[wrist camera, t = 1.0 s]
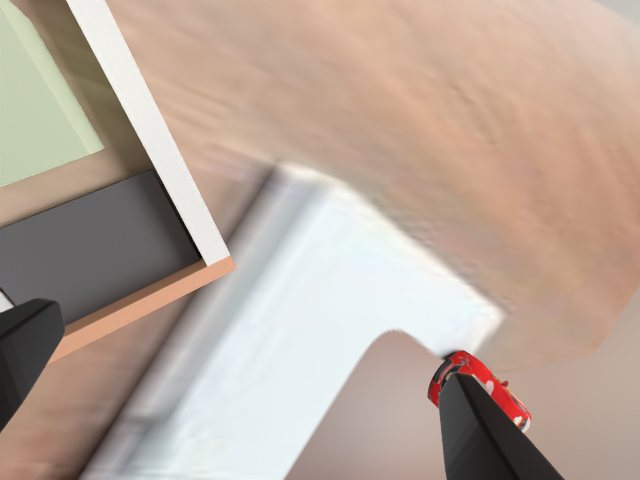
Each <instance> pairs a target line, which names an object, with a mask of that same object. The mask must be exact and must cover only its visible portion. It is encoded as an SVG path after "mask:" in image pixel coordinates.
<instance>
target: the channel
mask: <svg viewBox="0 0 640 480" xmlns="http://www.w3.org/2000/svg"><path fill="white" fill-rule="evenodd" d="M66 1H67V3H68V5H69V7H70V9H71V11H72V12H73V14H74V16H75V18H76V20H77V22H78V24H79V26H80V27H81V29H82V31H83V33H84V35H85V37H86V39H87V41H88V42H89V44H90V46H91V48H92V50H93V52H94V54H95V56H96V58H97V59H98V61H99V63H100V65H101V67H102V69H103V71H104V73H105V74H106V76H107V78H108V80H109V82H110V84H111V86H112V88H113V89H114V91H115V93H116V95H117V97H118V99H119V101H120V103H121V105H122V106H123V108H124V110H125V112H126V114H127V116H128V118H129V120H130V121H131V123H132V125H133V127H134V129H135V131H136V133H137V135H138V136H139V138H140V140H141V142H142V144H143V146H144V148H145V150H146V152H147V153H148V155H149V157H150V159H151V161H152V163H153V165H154V167H155V168H156V170H157V172H158V174H159V176H160V178H161V180H162V182H163V183H164V185H165V187H166V189H167V191H168V193H169V195H170V197H171V199H172V200H173V202H174V204H175V206H176V208H177V210H178V212H179V214H180V215H181V217H182V219H183V221H184V223H185V225H186V227H187V229H188V230H189V232H190V234H191V236H192V238H193V240H194V242H195V244H196V246H197V247H198V249H199V251H200V253H201V255H202V257H203V259H204V261H205V262H206V264H207V266H210V265H212V264H214V263H216V262H218V261H220V260H222V259H224V258H226V257H228V256H230V254H229V252H228V250H227V248H226V246H225V243H224V241H223V239H222V237H221V235H220V233H219V231H218V229H217V227H216V225H215V223H214V221H213V219H212V217H211V215H210V213H209V211H208V209H207V207H206V205H205V203H204V201H203V199H202V197H201V195H200V193H199V191H198V189H197V187H196V185H195V183H194V181H193V179H192V177H191V174H190V172H189V170H188V168H187V166H186V164H185V162H184V160H183V158H182V156H181V154H180V152H179V150H178V148H177V146H176V144H175V142H174V140H173V138H172V136H171V134H170V132H169V130H168V128H167V126H166V124H165V122H164V120H163V118H162V116H161V114H160V112H159V110H158V108H157V105H156V103H155V101H154V99H153V97H152V95H151V93H150V91H149V89H148V87H147V85H146V83H145V81H144V79H143V77H142V75H141V73H140V71H139V69H138V67H137V65H136V63H135V61H134V59H133V57H132V55H131V53H130V51H129V49H128V47H127V45H126V43H125V41H124V38H123V36H122V34H121V32H120V30H119V28H118V26H117V24H116V22H115V20H114V18H113V16H112V14H111V12H110V10H109V8H108V6H107V4H106V2H105V0H66ZM13 307H15V306H14V305H13V304H12V303H11V302H10V300H9V299H8V298H7V297H6V296H5V294H4V293H3V292H2V291H1V290H0V313H1V312H3V311H5V310H8V309H10V308H13Z"/></svg>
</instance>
